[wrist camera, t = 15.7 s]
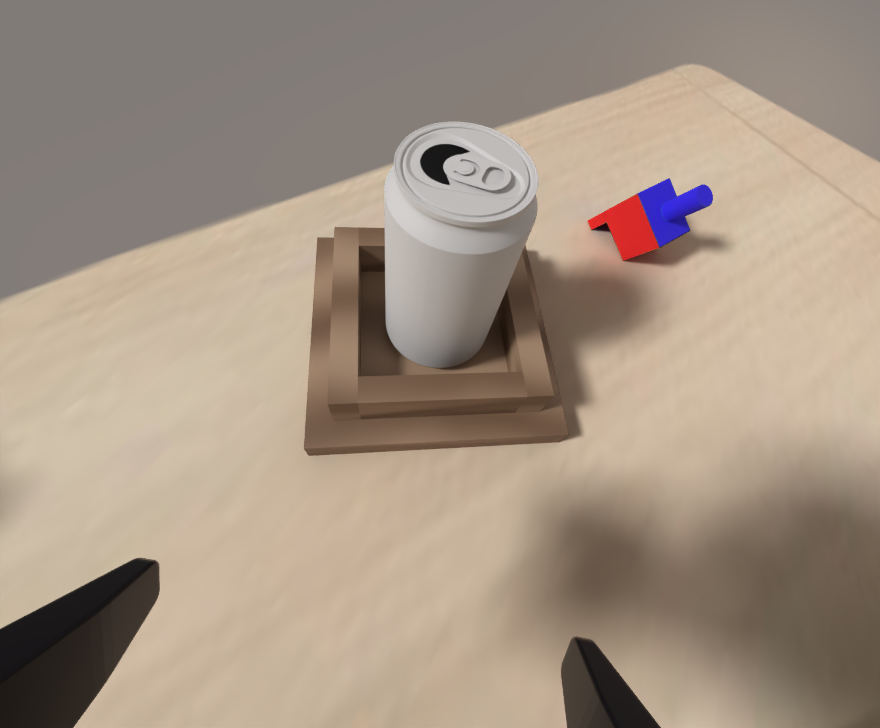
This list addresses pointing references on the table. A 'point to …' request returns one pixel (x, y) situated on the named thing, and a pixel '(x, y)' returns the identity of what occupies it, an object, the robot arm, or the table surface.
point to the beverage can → (453, 237)
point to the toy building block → (652, 217)
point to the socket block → (419, 367)
